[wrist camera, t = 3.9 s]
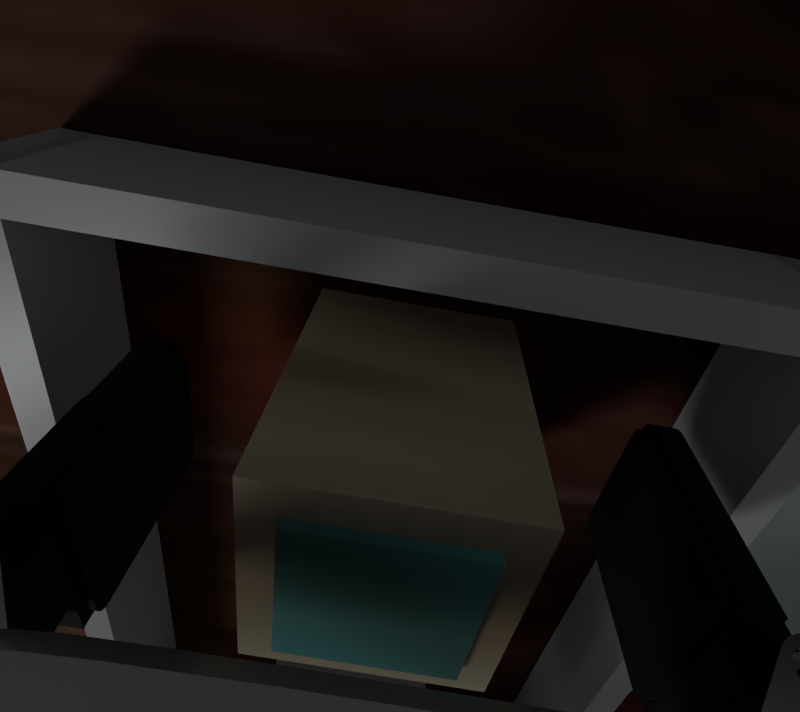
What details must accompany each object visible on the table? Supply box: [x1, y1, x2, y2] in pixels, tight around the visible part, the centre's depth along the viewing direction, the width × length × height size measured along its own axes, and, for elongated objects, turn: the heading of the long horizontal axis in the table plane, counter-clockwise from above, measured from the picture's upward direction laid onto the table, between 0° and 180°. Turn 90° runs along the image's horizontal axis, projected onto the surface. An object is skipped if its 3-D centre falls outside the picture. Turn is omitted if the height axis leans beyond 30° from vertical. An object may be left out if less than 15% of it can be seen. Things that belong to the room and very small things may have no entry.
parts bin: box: [0, 128, 800, 712], centre depth 15 cm, size 21×16×3 cm
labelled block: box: [233, 288, 565, 692], centre depth 10 cm, size 4×4×6 cm
